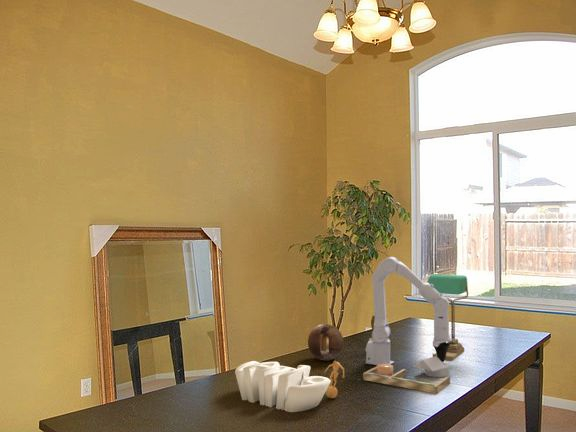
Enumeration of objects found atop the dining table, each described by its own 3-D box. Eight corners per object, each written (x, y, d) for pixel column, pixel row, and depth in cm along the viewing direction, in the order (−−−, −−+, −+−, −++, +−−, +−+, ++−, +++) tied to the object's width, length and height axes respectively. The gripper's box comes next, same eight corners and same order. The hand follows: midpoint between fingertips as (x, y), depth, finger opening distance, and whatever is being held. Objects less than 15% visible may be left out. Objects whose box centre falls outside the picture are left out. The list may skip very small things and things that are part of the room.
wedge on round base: (432, 380, 196) (453, 374, 205) (432, 362, 196) (453, 356, 205) (413, 375, 203) (433, 369, 212) (413, 357, 203) (433, 352, 212)
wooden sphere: (317, 353, 236) (317, 320, 236) (348, 357, 229) (348, 323, 229) (301, 361, 223) (301, 325, 223) (335, 366, 215) (334, 329, 216)
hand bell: (383, 353, 236) (383, 317, 236) (364, 352, 238) (364, 317, 238) (383, 349, 244) (383, 314, 245) (365, 348, 246) (365, 313, 246)
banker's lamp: (472, 352, 238) (472, 274, 239) (460, 362, 221) (460, 278, 221) (437, 347, 247) (437, 272, 247) (423, 357, 229) (422, 276, 230)
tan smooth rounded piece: (374, 378, 199) (374, 366, 199) (381, 374, 204) (381, 362, 204) (389, 381, 196) (389, 368, 196) (395, 377, 200) (395, 365, 201)
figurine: (318, 396, 178) (318, 360, 178) (329, 392, 182) (329, 357, 183) (337, 402, 172) (337, 365, 172) (348, 398, 177) (348, 361, 177)
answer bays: (363, 379, 197) (363, 372, 197) (379, 370, 209) (379, 364, 209) (436, 393, 181) (436, 385, 181) (450, 383, 193) (450, 375, 193)
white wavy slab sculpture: (223, 395, 180) (223, 363, 180) (255, 383, 193) (255, 354, 193) (306, 418, 158) (306, 383, 159) (336, 403, 171) (336, 371, 171)
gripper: (445, 331, 204) (445, 367, 203) (457, 325, 215) (457, 359, 215) (427, 329, 208) (427, 364, 207) (440, 323, 220) (440, 356, 219)
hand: (441, 361), depth 212 cm, fingers closed
